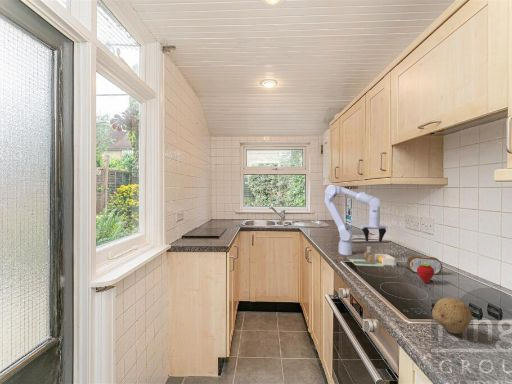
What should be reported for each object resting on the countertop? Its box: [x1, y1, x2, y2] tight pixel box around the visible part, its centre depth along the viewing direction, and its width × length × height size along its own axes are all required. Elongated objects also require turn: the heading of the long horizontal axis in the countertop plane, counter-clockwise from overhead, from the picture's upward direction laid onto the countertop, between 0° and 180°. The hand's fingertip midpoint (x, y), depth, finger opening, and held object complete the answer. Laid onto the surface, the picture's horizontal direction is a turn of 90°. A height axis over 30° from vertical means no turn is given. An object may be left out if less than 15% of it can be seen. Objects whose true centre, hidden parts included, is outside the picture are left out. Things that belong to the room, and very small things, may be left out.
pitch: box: [346, 253, 397, 267], centre depth 149 cm, size 16×22×4 cm
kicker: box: [363, 245, 375, 262], centre depth 149 cm, size 8×2×8 cm, turn 178°
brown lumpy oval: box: [431, 297, 473, 335], centre depth 79 cm, size 9×9×10 cm
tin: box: [406, 254, 443, 276], centre depth 136 cm, size 15×3×8 cm, turn 74°
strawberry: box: [416, 263, 434, 284], centre depth 121 cm, size 6×8×10 cm
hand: (373, 241), depth 160 cm, fingers open, 7 cm apart
